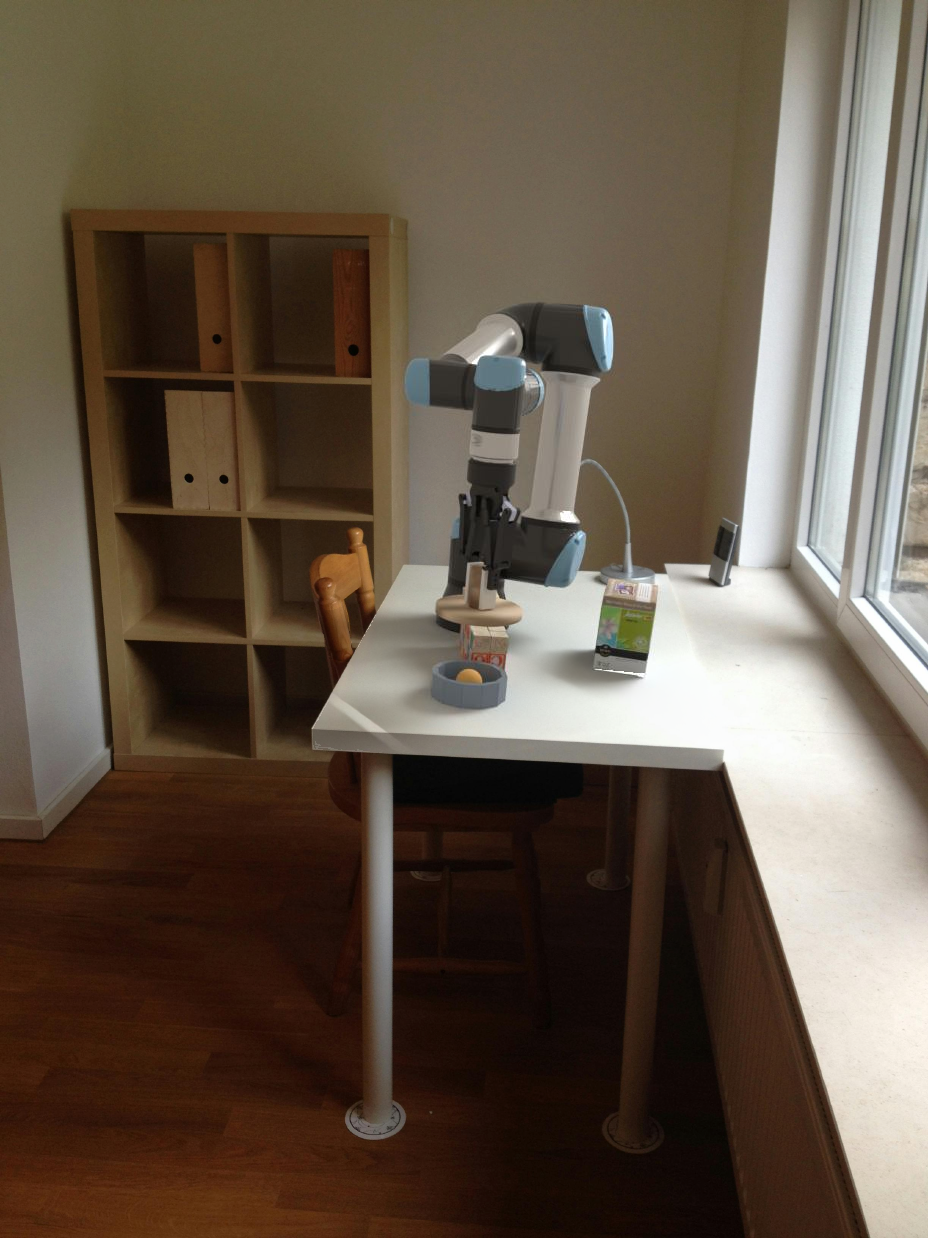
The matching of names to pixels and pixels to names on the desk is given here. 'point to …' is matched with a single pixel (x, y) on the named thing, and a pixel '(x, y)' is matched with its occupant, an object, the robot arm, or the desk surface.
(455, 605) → the lid
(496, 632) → the stack of blocks
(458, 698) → the bowl
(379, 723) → the desk surface
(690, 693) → the desk surface
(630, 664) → the tea box
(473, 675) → the clementine
